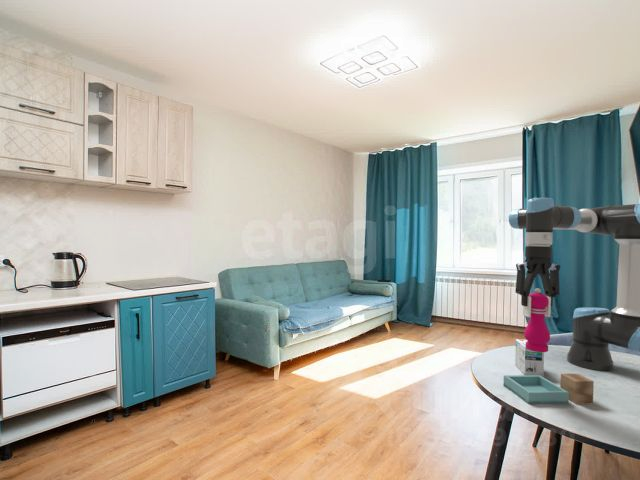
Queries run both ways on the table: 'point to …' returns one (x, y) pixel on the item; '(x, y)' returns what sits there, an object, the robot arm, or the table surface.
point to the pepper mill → (537, 323)
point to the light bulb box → (528, 359)
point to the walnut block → (578, 388)
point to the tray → (536, 389)
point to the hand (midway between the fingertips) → (536, 316)
